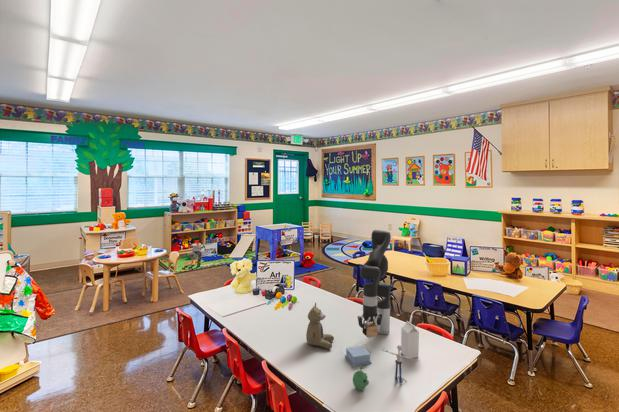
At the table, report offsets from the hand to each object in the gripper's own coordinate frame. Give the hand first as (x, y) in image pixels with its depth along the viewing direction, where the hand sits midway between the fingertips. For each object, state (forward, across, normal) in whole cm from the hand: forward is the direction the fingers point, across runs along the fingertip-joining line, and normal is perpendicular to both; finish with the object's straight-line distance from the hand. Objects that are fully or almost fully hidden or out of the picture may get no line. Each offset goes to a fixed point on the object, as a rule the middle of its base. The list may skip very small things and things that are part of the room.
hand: (369, 333), depth 170 cm
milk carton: (+19, -28, -4) cm, 34 cm away
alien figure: (+19, -8, +16) cm, 26 cm away
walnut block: (+1, 0, 0) cm, 1 cm away
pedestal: (+19, +3, -8) cm, 21 cm away
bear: (+19, +17, -32) cm, 41 cm away
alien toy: (+19, +13, +16) cm, 28 cm away
